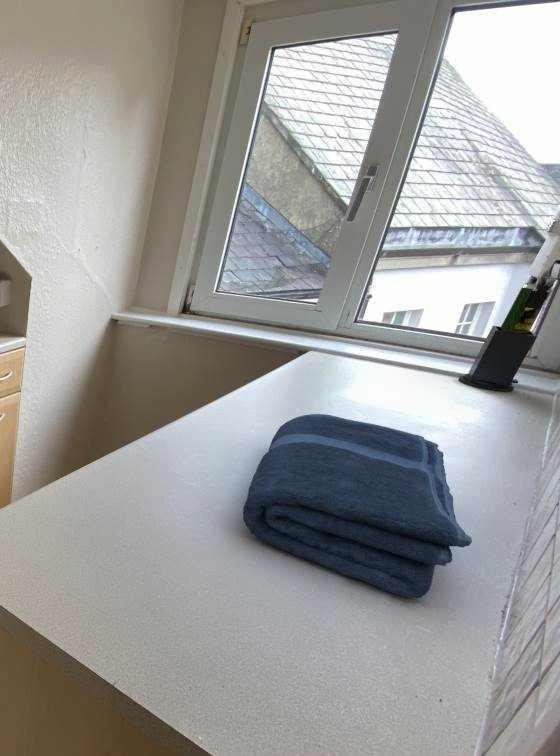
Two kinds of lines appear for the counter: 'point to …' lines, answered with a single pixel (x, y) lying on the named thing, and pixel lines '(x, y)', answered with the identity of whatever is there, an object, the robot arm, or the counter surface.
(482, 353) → the waste bin
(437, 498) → the towel
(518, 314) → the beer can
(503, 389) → the turntable
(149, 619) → the counter surface
